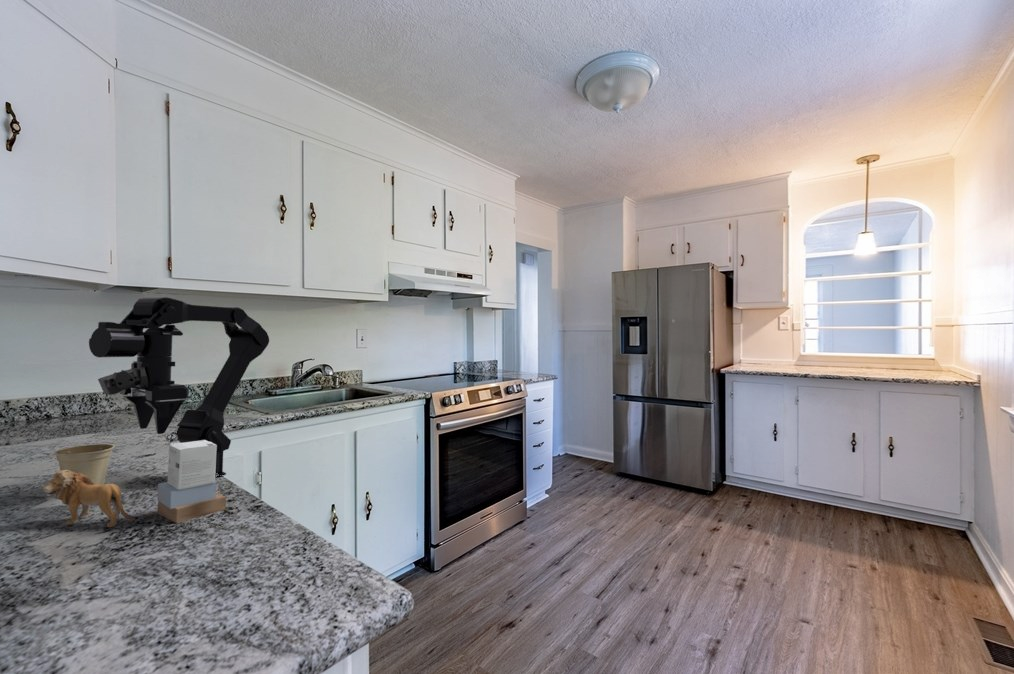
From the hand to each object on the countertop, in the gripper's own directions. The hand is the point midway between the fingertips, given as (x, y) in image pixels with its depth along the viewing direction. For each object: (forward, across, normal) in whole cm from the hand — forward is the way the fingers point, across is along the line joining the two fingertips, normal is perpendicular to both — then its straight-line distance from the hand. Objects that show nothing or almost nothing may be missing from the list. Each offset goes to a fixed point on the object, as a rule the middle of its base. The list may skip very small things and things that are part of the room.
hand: (151, 431), depth 92 cm
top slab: (+11, +18, 0) cm, 21 cm away
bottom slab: (+14, +18, +1) cm, 22 cm away
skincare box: (+8, +18, 0) cm, 20 cm away
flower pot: (+13, -14, -7) cm, 21 cm away
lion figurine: (+13, +9, -12) cm, 20 cm away
